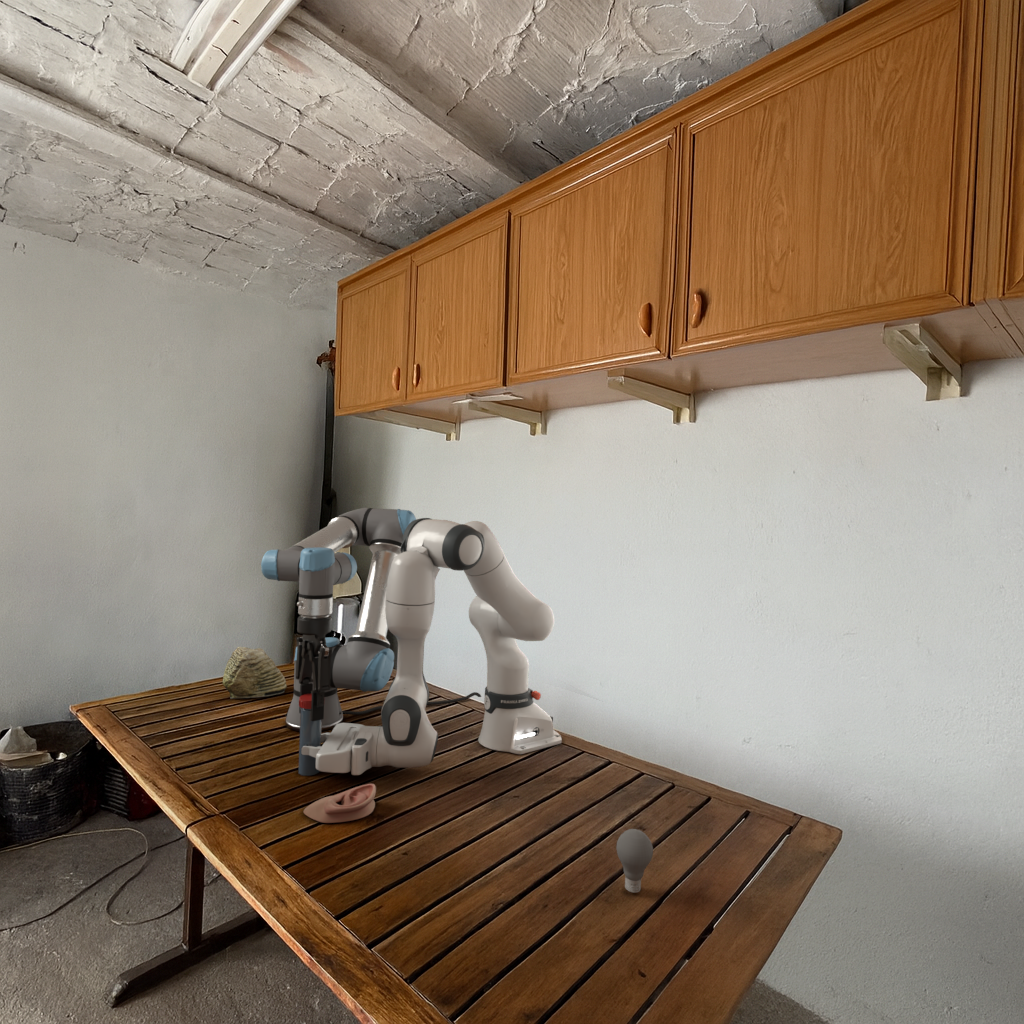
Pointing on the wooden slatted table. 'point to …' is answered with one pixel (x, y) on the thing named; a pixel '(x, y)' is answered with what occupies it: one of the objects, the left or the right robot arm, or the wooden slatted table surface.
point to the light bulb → (634, 857)
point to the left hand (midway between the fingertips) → (311, 715)
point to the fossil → (252, 674)
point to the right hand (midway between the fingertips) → (306, 744)
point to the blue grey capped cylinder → (308, 742)
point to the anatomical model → (343, 805)
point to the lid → (306, 701)
